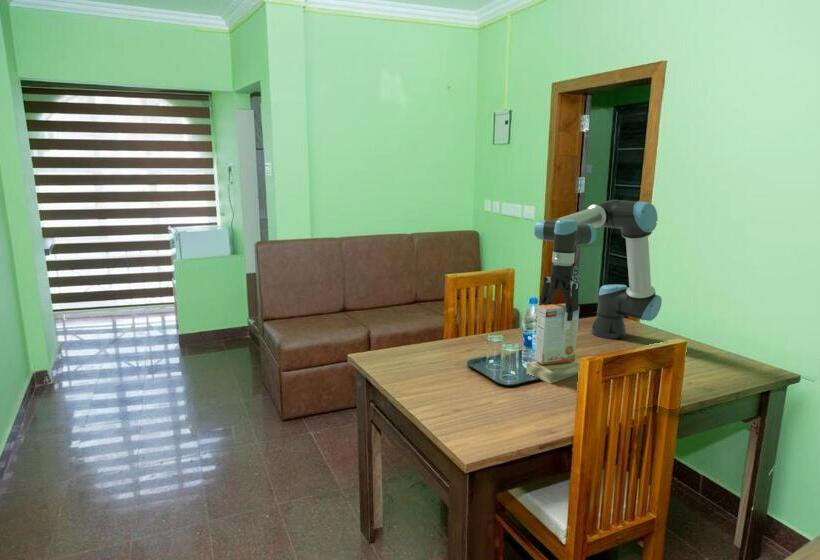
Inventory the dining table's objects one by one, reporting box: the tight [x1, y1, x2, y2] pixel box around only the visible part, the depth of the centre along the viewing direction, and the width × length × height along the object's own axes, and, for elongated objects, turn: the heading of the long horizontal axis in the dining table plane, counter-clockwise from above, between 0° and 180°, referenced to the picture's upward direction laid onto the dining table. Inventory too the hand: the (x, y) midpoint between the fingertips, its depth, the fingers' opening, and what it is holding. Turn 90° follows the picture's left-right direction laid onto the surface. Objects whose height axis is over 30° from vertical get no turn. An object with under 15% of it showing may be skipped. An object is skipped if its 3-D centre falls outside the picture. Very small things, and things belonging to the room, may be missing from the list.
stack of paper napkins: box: [525, 360, 580, 384], centre depth 199 cm, size 11×17×4 cm, turn 128°
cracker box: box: [533, 303, 580, 365], centre depth 197 cm, size 14×6×21 cm, turn 109°
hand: (557, 326), depth 196 cm, fingers closed on cracker box, 7 cm apart
